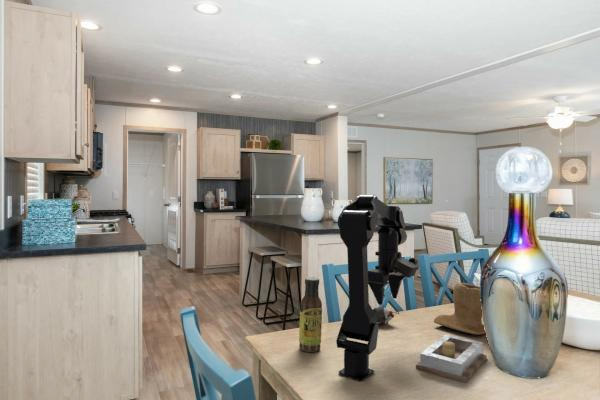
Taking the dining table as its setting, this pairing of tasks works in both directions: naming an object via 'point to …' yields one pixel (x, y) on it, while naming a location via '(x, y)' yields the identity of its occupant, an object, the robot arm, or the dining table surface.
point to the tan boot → (464, 310)
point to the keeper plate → (465, 377)
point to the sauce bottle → (310, 317)
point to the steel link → (449, 365)
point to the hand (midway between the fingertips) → (387, 301)
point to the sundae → (384, 315)
